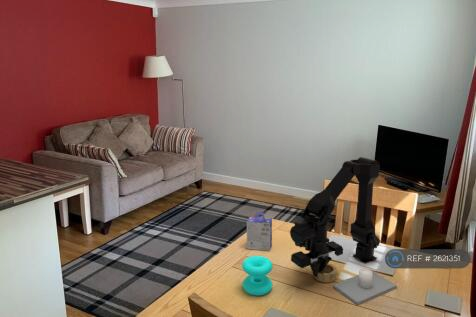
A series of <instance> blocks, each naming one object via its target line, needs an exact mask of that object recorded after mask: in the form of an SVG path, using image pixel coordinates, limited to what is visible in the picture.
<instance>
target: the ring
mask: <svg viewBox="0 0 476 317" xmlns="http://www.w3.org/2000/svg"><path fill="white" fill-rule="evenodd" d="M337 272H338V270H337V266H335V265H333V264H331V263H330V262H329V263H328V264H327V265H326V267H325V268H324V270H323V271H322V272H319V271H318V274H317V277H314V276H313V275H312V278H313V279H314V280H316V281H318V282H320V283H326V284H327V283H332V282H334V281H336V279H337V275H338V273H337Z"/></svg>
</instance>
